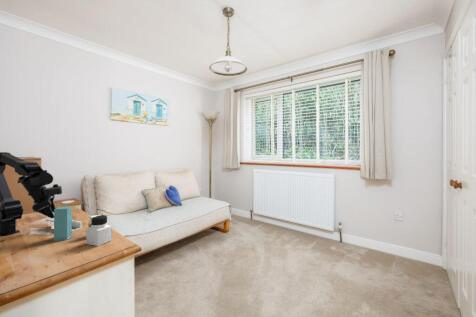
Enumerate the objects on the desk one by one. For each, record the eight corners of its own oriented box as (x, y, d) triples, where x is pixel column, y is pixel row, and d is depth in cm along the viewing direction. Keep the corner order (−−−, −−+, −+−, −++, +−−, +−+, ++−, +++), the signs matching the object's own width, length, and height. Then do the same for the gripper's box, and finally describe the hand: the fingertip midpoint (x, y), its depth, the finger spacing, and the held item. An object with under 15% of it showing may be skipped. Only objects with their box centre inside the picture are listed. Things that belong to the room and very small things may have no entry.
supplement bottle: (101, 232, 111) (101, 214, 110) (101, 236, 106) (101, 216, 106) (88, 234, 108) (88, 215, 107) (88, 238, 103) (88, 218, 103)
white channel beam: (50, 229, 113) (50, 222, 113) (65, 225, 120) (65, 218, 120) (68, 232, 109) (68, 225, 109) (82, 228, 116) (82, 221, 116)
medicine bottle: (111, 240, 101) (112, 215, 101) (97, 246, 95) (97, 219, 94) (100, 238, 104) (100, 213, 103) (85, 244, 97) (86, 217, 97)
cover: (45, 221, 115) (45, 215, 115) (60, 217, 121) (60, 211, 121) (58, 223, 112) (58, 217, 111) (72, 219, 118) (72, 213, 118)
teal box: (53, 239, 99) (54, 209, 99) (59, 235, 104) (59, 206, 104) (66, 238, 101) (67, 208, 101) (71, 234, 106) (72, 206, 105)
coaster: (49, 239, 100) (49, 238, 100) (65, 234, 107) (65, 233, 107) (60, 242, 98) (60, 241, 98) (76, 236, 105) (76, 235, 105)
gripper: (52, 183, 99) (71, 211, 104) (56, 176, 114) (73, 201, 119) (22, 196, 94) (44, 225, 99) (30, 187, 109) (49, 212, 114)
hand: (54, 214), depth 108 cm, fingers open, 9 cm apart
